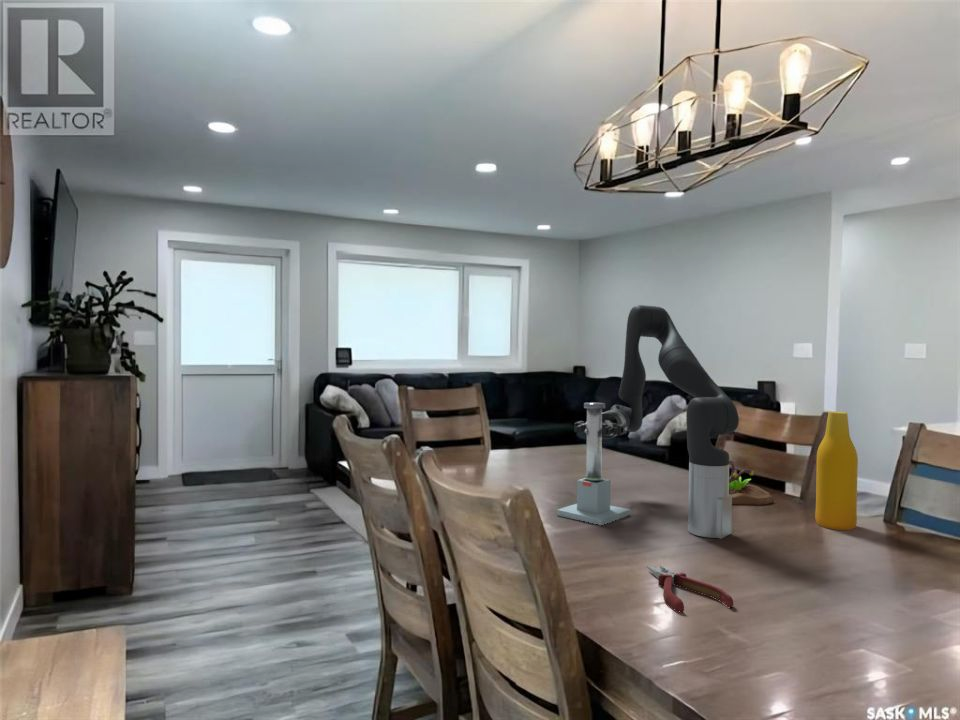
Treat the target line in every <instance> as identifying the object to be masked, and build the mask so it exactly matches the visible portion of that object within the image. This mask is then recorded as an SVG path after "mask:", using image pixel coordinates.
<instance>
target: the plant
mask: <svg viewBox="0 0 960 720" xmlns="http://www.w3.org/2000/svg"><path fill="white" fill-rule="evenodd" d="M729 466H731V473H730V475H729V494H730V495H732V505H755V506H761V505H768V504H772V503H773V496H772V495H771V493H770V492H769V491H766V490H764V489H763V488H761V487H759V486H758V485H755V484H752V483H751V482H750V481H751V480H752V478H746V479H744V480H743V481H742V476H741V475H743V474H744V473H746V472H747V473H748V474H749V476H754V471H753V470H751V469H747V468H746V469H743V470H741V471H739V473H738V470H737V469H735V467H736V466H735V464H734V461H733V459H729Z"/></svg>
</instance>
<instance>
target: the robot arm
mask: <svg viewBox="0 0 960 720" xmlns="http://www.w3.org/2000/svg"><path fill="white" fill-rule="evenodd" d="M641 337H642V338H643V337H646V338H655V339H656V340H658V342H659V343H660V344H661V347H660V350H659V353H658V365H659V367H660V369H661V370H662V372H663V374H664V375H665V377H666V378H667V380H668V381H669V382H670V383H671V384H672V385H674V386H675V387H676V388H678V389H680V390H681V391H682V392H685V393H687V395H689V396H691V397H693V398H692V399H691V400H690V401H689V402H688V405H687V407H686V418H685V421H686V443H687V444H686V445H687V446H686V447H687V451H688V452H687V453H688V456H689V458H688V462H689V463H688V508H687V509H688V513H687V514H688V515H687V516H688V517H687V518H688V521H687V528H688V529H687V531H688V532H689V533H690V534H692V535H694V536H698V537H704V538H711V539H720V540H722V539H724V538H726V537H727V536H729V535H731V534H732V521H733V520H732V519H733V517H732V515H733V512H732V511H733V510H732V509H733V508H732V507H733V504H732V495H730V494H729V478H730V465H729V460H730V453H729V452H727V450H724V449H722V448H718V447H716V446H714V445H713V444H712V442H711V436H722V435H723V436H724V435H729V434H732V433H734V432H735V431H736V430H737V428H738V426H739V423H740V422H739V421H740V417H739V412H738V409H737V407H736V406H735V403H734V402H733V400H732V399H731V398H730V397H729V396H728V395H727V394H726V393H725V392H724V390H723V389H722V388H721V387H719V385H718V384H717V383H716V382H715V381H714V380H713V378H711V376H710V375H709V374H708V372H707V371H706V370H705V368H704V367H703V366H702V364H701V363H700V361H699V360H698V358H697V357H696V355H695V354H694V352H693V351H692V350H691V349H690V348H689V346H688V345H687V344H686V342H685V341H684V339H683V337H682V335H681V334H680V333H679V331H678V329H677V327H676V325H675V323H674V321H673V319H672V318H671V315H669V312H668V311H667V310H666V309H665V308H663V307H661V306H654V305H643V304H637V305H634V306H633V307H632V308H631V309H630V311H629V313H628V317H627V322H626V333H625V343H624V344H625V345H624V347H625V348H624V349H625V350H624V363H623V365H624V366H623V371H622V377H621V381H620V385H619V386H620V387H619V391H618V398H619V399H620V400H622V401H623V402H625V403H626V404H628V405H629V407H627V406H624V405H621V404H614V405H612V406H611V407H610V409H609V410H607V411H604V412H603V411H602V440H609V439H613V438H614V437H616V436H622V435H625V434H627V433H628V432H629V433H637V432H638V431H639V430H640V429H641V427H642V424H643V407H642V404H643V403H642V398H643V393H644V391H645V390H644V389H645V385H646V377H647V373H646V368H645V366H644V363H643V359H642V357H641V354H640V348H639V347H640V340H641ZM574 433H577V435H582V434H584V433H585V434H587V420H586V421H583V420H579V421H576V422H574Z"/></svg>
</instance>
